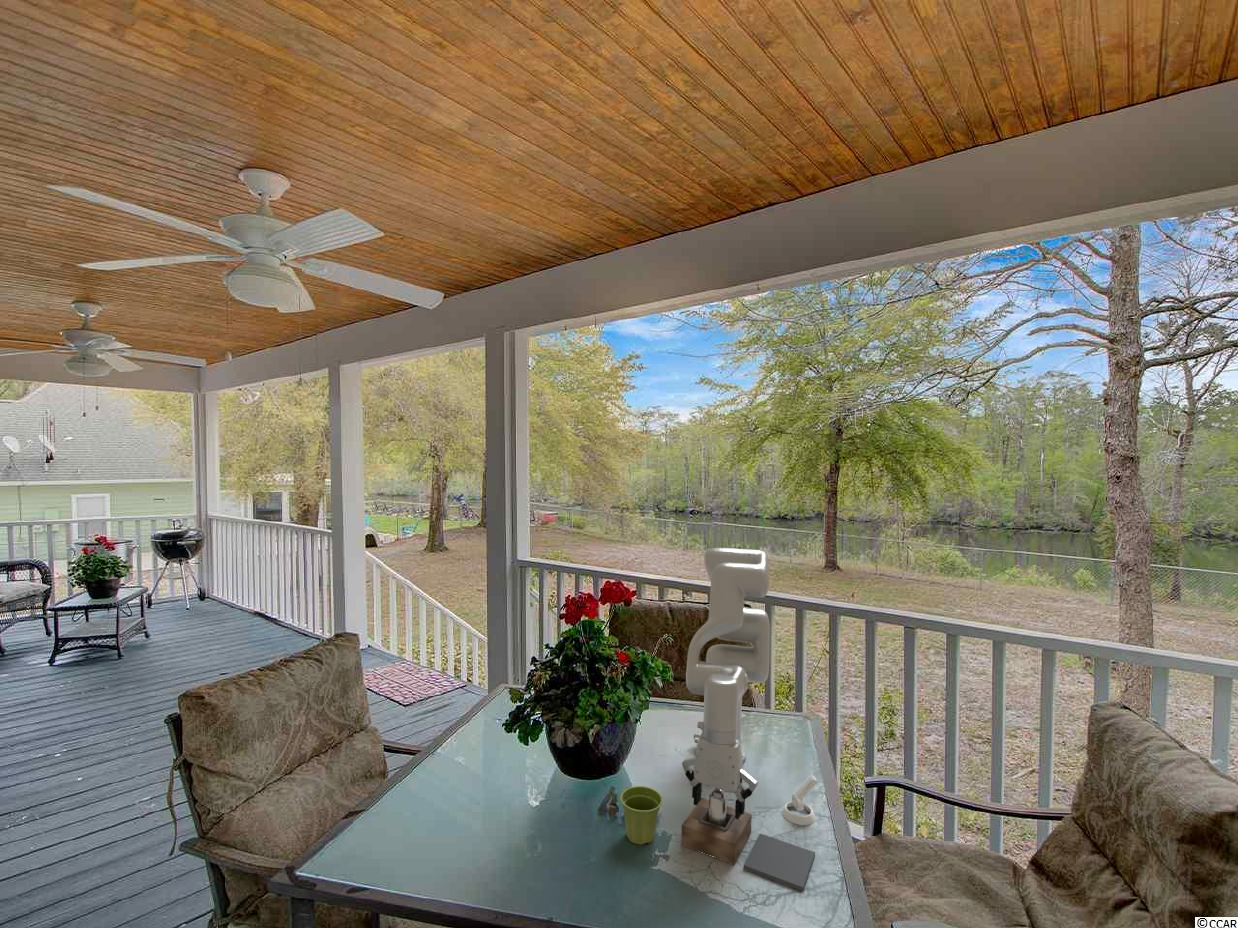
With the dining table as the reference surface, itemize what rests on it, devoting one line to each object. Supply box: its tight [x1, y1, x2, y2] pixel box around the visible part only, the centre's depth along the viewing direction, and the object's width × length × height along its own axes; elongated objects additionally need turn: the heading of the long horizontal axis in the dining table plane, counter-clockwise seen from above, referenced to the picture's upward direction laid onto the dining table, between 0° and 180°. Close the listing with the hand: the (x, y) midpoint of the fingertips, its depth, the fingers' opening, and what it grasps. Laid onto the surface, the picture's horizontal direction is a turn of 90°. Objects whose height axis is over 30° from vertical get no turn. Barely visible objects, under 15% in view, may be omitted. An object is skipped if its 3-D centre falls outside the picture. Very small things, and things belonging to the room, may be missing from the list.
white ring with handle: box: [781, 774, 818, 826], centre depth 140 cm, size 8×12×7 cm
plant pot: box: [620, 785, 663, 846], centre depth 131 cm, size 9×9×9 cm
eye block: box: [680, 797, 753, 866], centre depth 131 cm, size 12×12×5 cm
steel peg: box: [708, 788, 728, 828], centre depth 131 cm, size 4×4×11 cm
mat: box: [743, 833, 816, 892], centre depth 124 cm, size 12×12×1 cm
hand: (717, 808), depth 130 cm, fingers open, 9 cm apart
